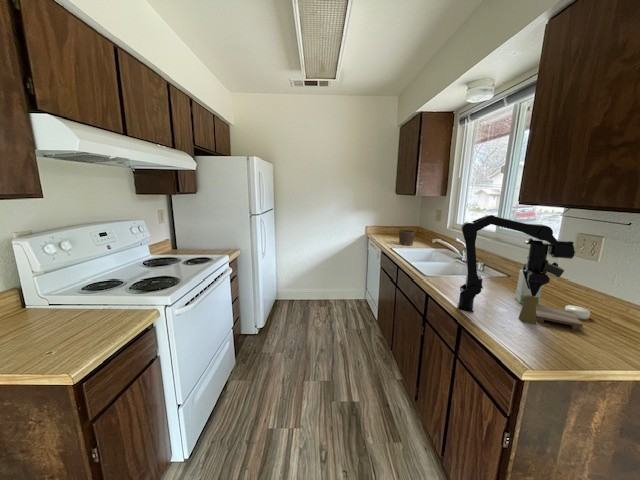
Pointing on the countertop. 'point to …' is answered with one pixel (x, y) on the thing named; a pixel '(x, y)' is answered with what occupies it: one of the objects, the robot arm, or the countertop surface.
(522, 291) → the skincare box
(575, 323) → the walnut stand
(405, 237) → the plant pot
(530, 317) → the olive pestle
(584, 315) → the white rounded piece
